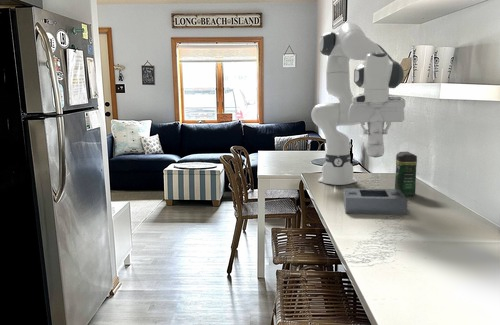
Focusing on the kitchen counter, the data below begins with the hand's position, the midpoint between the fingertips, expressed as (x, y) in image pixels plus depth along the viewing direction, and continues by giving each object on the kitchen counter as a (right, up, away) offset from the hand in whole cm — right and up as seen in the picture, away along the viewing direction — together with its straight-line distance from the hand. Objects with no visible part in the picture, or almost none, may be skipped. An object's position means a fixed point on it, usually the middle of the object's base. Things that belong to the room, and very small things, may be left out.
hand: (375, 134), depth 160 cm
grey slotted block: (+1, -29, +5) cm, 29 cm away
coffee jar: (+20, -25, +25) cm, 40 cm away
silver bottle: (0, -9, +2) cm, 9 cm away
